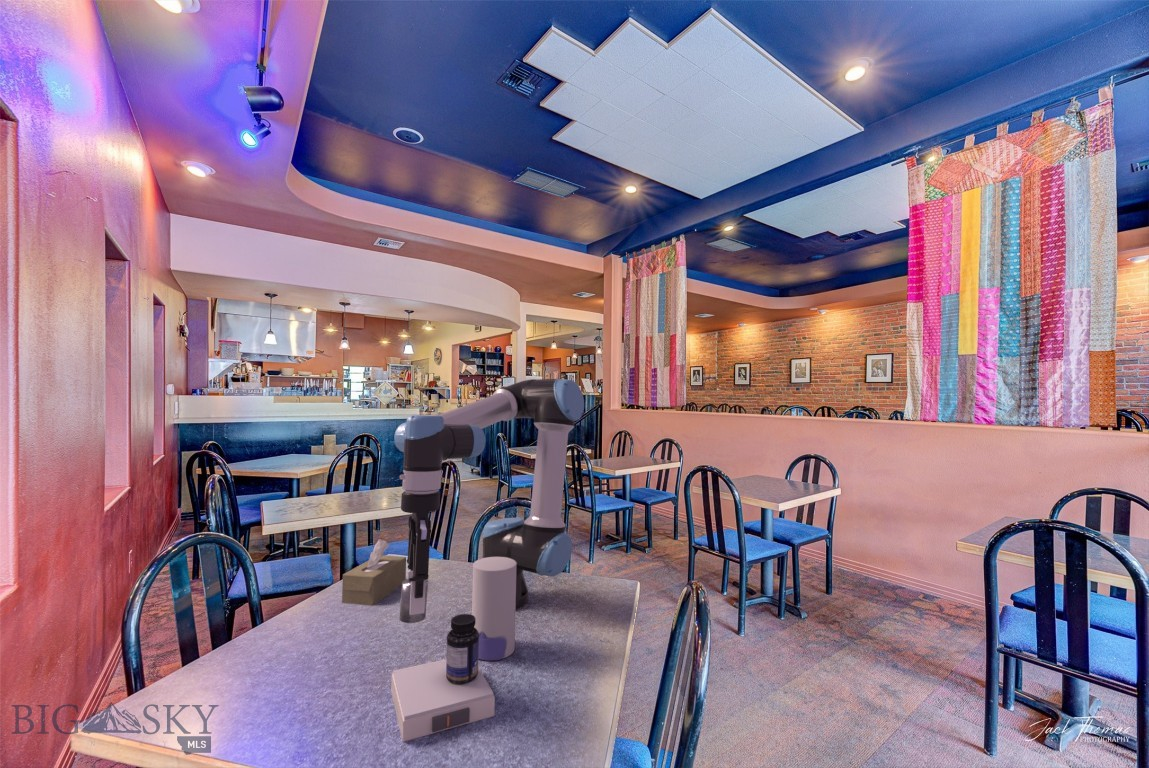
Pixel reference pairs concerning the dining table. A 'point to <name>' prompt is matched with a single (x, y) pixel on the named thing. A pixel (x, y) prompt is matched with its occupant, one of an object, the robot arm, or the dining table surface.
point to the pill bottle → (462, 650)
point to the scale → (437, 700)
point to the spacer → (405, 604)
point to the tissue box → (374, 577)
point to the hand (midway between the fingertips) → (415, 607)
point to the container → (494, 606)
